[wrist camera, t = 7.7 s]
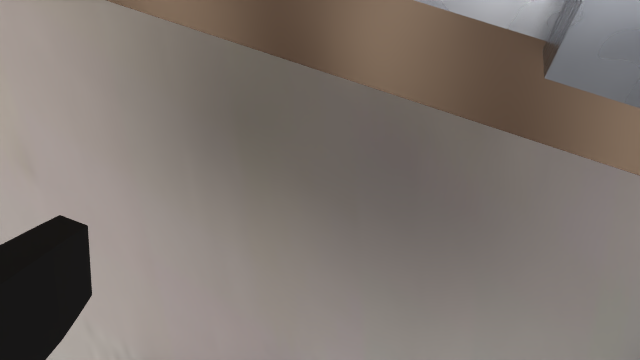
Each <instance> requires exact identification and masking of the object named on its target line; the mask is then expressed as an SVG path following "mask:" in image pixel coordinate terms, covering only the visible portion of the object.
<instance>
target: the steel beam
mask: <svg viewBox="0 0 640 360" xmlns="http://www.w3.org/2000/svg"><path fill="white" fill-rule="evenodd" d="M415 1H418V2H421V3H424V4H428V5H431V6H434V7H437V8H441V9H444V10H447V11H450V12H453V13H457V14H460V15H463V16H466V17H470V18H473V19H476V20H479V21H483V22H486V23H489V24H492V25H496V26H499V27H502V28H505V29H509V30H512V31H515V32H518V33H522V34H525V35H528V36H531V37H535V38H538V39H541V40H544V41H547V39H548V37H549V35H550V33H551V31H552V28H553V26H554V24H555V22H556V20H557V18H558V16H559V14H560V12H561V10H562V8H563V5H564V3H565V1H566V0H415Z"/></svg>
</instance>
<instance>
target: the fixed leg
mask: <svg viewBox="0 0 640 360" xmlns="http://www.w3.org/2000/svg"><path fill="white" fill-rule="evenodd" d="M543 65H544V78H545V79H549V80H552V81H555V82H558V83H561V84H564V85H568V86H571V87H574V88H577V89H580V90H583V91H587V92H590V93H593V94H596V95H599V96H602V97H606V98H609V99H612V100H615V101H618V102H621V103H625V104H628V105H631V106H634V107H637V108H640V0H566V1H565V3H564V5H563V8H562V10H561V12H560V14H559V16H558V18H557V20H556V22H555V24H554V26H553V28H552V31H551V33H550V35H549V37H548V39H547V41H546V43H545V45H544V47H543Z"/></svg>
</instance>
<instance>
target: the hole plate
mask: <svg viewBox="0 0 640 360" xmlns="http://www.w3.org/2000/svg"><path fill="white" fill-rule="evenodd" d="M107 1H110V2H113V3H116V4H119V5H122V6H125V7H128V8H131V9H134V10H137V11H140V12H143V13H146V14H149V15H152V16H155V17H158V18H162V19H165V20H168V21H171V22H174V23H177V24H180V25H183V26H186V27H189V28H192V29H195V30H198V31H201V32H204V33H207V34H210V35H213V36H216V37H219V38H222V39H225V40H229V41H232V42H235V43H238V44H241V45H244V46H247V47H250V48H253V49H256V50H259V51H262V52H265V53H268V54H271V55H274V56H277V57H280V58H283V59H286V60H289V61H292V62H295V63H299V64H302V65H305V66H308V67H311V68H314V69H317V70H320V71H323V72H326V73H329V74H332V75H335V76H338V77H341V78H344V79H347V80H350V81H353V82H356V83H359V84H362V85H366V86H369V87H372V88H375V89H378V90H381V91H384V92H387V93H390V94H393V95H396V96H399V97H402V98H405V99H408V100H411V101H414V102H417V103H420V104H423V105H426V106H429V107H433V108H436V109H439V110H442V111H445V112H448V113H451V114H454V115H457V116H460V117H463V118H466V119H469V120H472V121H475V122H478V123H481V124H484V125H487V126H490V127H493V128H496V129H500V130H503V131H506V132H509V133H512V134H515V135H518V136H521V137H524V138H527V139H530V140H533V141H536V142H539V143H542V144H545V145H548V146H551V147H554V148H557V149H560V150H563V151H567V152H570V153H573V154H576V155H579V156H582V157H585V158H588V159H591V160H594V161H597V162H600V163H603V164H606V165H609V166H612V167H615V168H618V169H621V170H624V171H627V172H630V173H633V174H637V175H640V108H637V107H634V106H631V105H628V104H625V103H621V102H618V101H615V100H612V99H609V98H606V97H602V96H599V95H596V94H593V93H590V92H587V91H583V90H580V89H577V88H574V87H571V86H568V85H564V84H561V83H558V82H555V81H552V80H549V79H545V78H544V65H543V47H544V45H545V43H546V41H544V40H541V39H538V38H535V37H531V36H528V35H525V34H522V33H518V32H515V31H512V30H509V29H505V28H502V27H499V26H496V25H492V24H489V23H486V22H483V21H479V20H476V19H473V18H470V17H466V16H463V15H460V14H457V13H453V12H450V11H447V10H444V9H441V8H437V7H434V6H431V5H428V4H424V3H421V2H418V1H415V0H107Z"/></svg>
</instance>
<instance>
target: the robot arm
mask: <svg viewBox="0 0 640 360" xmlns="http://www.w3.org/2000/svg"><path fill="white" fill-rule="evenodd" d="M91 296H92V287H91V271H90V255H89V239H88V226H87V225H85V224H82V223H79V222H77V221H74V220H71V219H69V218H66V217H63V216H61V215H59V216H57V217H55V218H53V219H51V220H49V221H47V222H45V223H43V224H41V225H39V226H37V227H35V228H33V229H31V230H29V231H27V232H25V233H23V234H21V235H19V236H17V237H15V238H13V239H11V240H9V241H7V242H5V243H3V244H1V245H0V360H46V358H47V357H48V356H49V355H50V354H51V353H52V351H53V350H54V349H55V348H56V347H57V345H58V344H59V343H60V342H61V340H62V339H63V338H64V336H65V335H66V333H67V332H68V331H69V329H70V328H71V326H72V325H73V323H74V322H75V320H76V319H77V317H78V316H79V314H80V313H81V311H82V310H83V308H84V306H85V305H86V303H87V302H88V300H89V299H90V297H91Z"/></svg>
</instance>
